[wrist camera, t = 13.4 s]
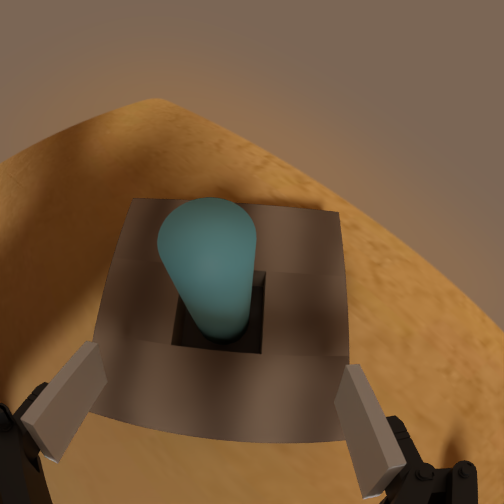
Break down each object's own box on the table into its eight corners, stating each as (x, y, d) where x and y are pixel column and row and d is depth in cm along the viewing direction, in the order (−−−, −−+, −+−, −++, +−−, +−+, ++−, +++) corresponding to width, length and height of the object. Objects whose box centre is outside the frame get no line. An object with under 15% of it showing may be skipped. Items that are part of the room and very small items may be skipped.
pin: (194, 342, 21) (147, 277, 10) (200, 293, 23) (169, 195, 12) (247, 346, 21) (253, 286, 10) (250, 297, 23) (258, 200, 12)
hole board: (106, 409, 18) (82, 409, 15) (144, 223, 27) (133, 198, 23) (329, 433, 18) (347, 439, 15) (326, 236, 27) (338, 212, 24)
